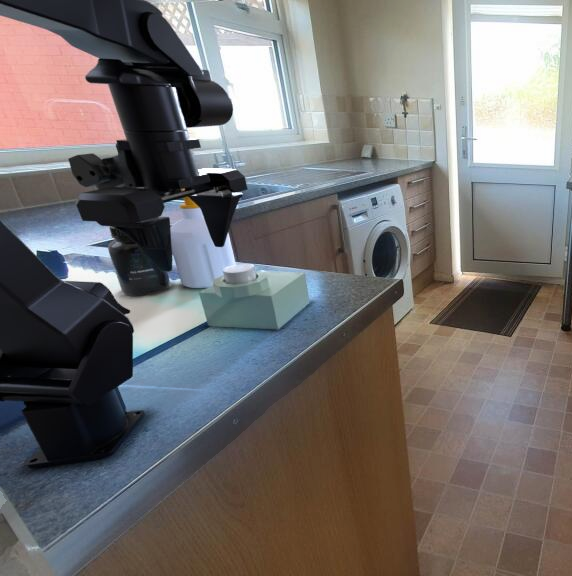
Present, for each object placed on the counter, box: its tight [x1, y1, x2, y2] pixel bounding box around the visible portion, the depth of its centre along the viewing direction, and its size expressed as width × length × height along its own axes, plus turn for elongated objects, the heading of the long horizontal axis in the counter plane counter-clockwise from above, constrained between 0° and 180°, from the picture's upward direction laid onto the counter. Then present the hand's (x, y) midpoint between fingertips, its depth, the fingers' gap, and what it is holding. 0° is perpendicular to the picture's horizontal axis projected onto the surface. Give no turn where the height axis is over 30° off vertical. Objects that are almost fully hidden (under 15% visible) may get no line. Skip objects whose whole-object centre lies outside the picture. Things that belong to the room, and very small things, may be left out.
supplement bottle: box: [107, 226, 171, 297], centre depth 72 cm, size 7×7×12 cm
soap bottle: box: [170, 189, 237, 289], centre depth 75 cm, size 9×9×25 cm
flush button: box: [223, 263, 257, 284], centre depth 62 cm, size 4×4×2 cm
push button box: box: [198, 269, 311, 330], centre depth 65 cm, size 11×11×8 cm
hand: (195, 258), depth 53 cm, fingers open, 9 cm apart
